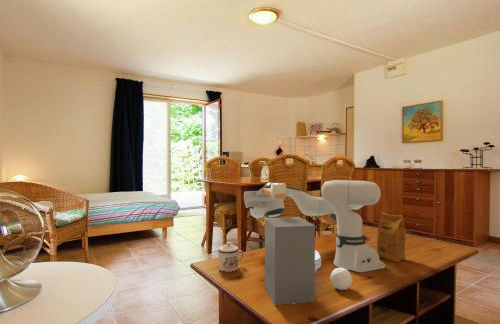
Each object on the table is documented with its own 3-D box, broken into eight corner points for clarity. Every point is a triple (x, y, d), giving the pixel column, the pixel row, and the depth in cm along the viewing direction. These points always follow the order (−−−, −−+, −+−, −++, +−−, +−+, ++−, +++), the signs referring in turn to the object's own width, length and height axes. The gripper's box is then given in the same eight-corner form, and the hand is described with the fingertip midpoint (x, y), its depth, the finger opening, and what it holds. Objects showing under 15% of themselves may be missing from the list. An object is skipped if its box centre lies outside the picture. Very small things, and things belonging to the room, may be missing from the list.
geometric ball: (335, 294, 109) (325, 273, 113) (354, 286, 110) (344, 266, 114) (338, 292, 103) (327, 270, 107) (358, 284, 103) (347, 262, 107)
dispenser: (299, 284, 112) (299, 217, 112) (314, 302, 98) (314, 225, 98) (264, 286, 109) (264, 218, 109) (274, 305, 95) (275, 227, 95)
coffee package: (385, 253, 150) (385, 210, 150) (408, 260, 140) (409, 214, 140) (373, 256, 145) (373, 212, 145) (396, 263, 134) (397, 216, 134)
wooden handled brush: (270, 192, 137) (271, 179, 137) (286, 198, 113) (286, 183, 113) (260, 192, 136) (260, 179, 136) (274, 199, 112) (274, 183, 112)
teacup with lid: (222, 274, 122) (222, 246, 122) (215, 267, 130) (215, 241, 130) (247, 269, 127) (248, 242, 127) (239, 262, 135) (239, 237, 135)
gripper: (282, 206, 145) (290, 196, 133) (242, 207, 141) (246, 196, 129) (280, 195, 148) (288, 183, 136) (241, 195, 144) (245, 184, 133)
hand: (267, 190), depth 133 cm, fingers closed on wooden handled brush, 4 cm apart
